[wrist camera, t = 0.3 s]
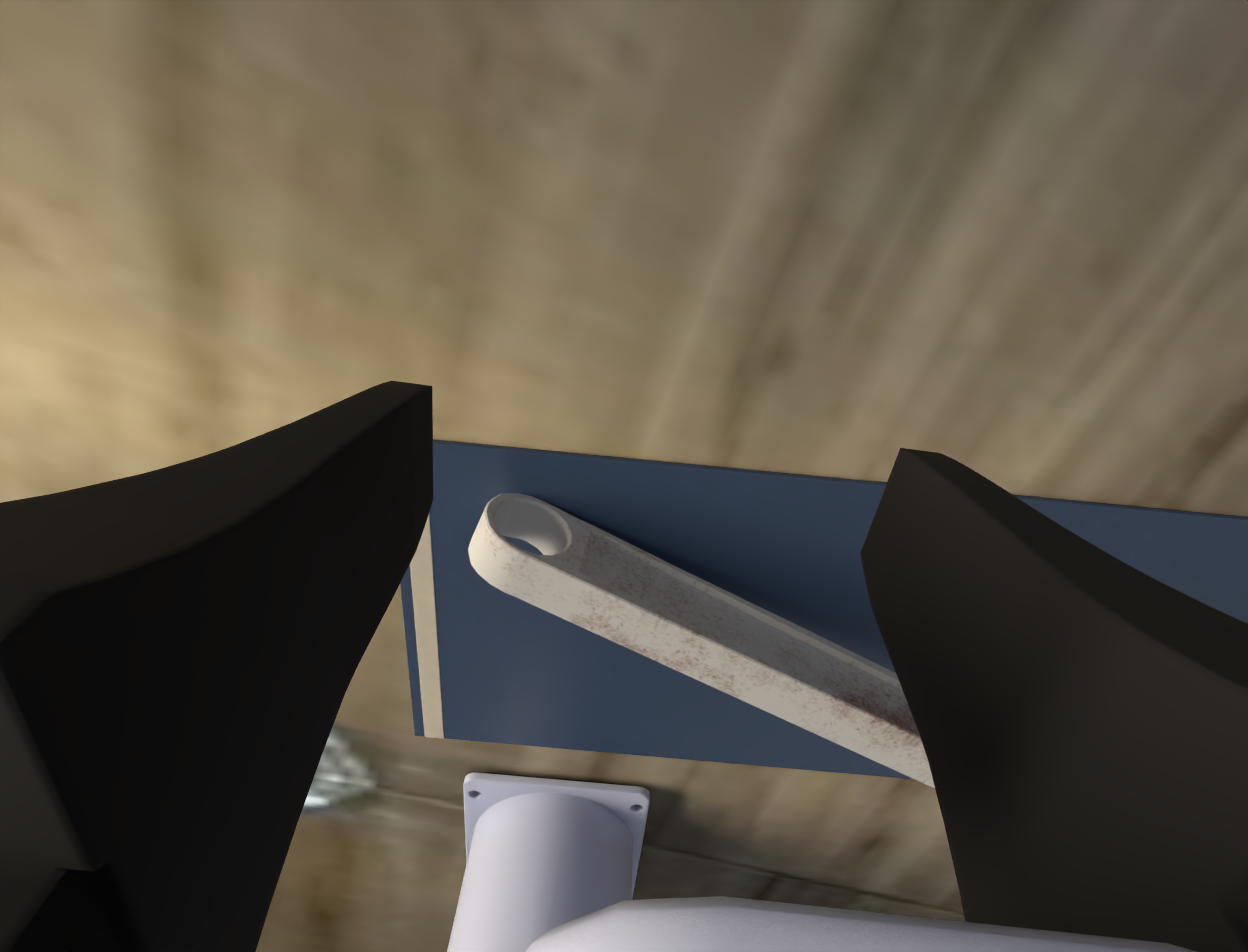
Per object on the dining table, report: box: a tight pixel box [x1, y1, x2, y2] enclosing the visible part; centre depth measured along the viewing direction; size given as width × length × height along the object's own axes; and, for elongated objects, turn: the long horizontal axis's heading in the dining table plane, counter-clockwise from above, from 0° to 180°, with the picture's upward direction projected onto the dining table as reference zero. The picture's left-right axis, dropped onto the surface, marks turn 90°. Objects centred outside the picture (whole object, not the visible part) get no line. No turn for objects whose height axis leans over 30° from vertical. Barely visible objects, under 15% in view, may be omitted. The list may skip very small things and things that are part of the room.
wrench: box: [468, 493, 935, 788], centre depth 23 cm, size 8×2×30 cm
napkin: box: [400, 440, 1248, 779], centre depth 26 cm, size 14×34×1 cm, turn 85°
